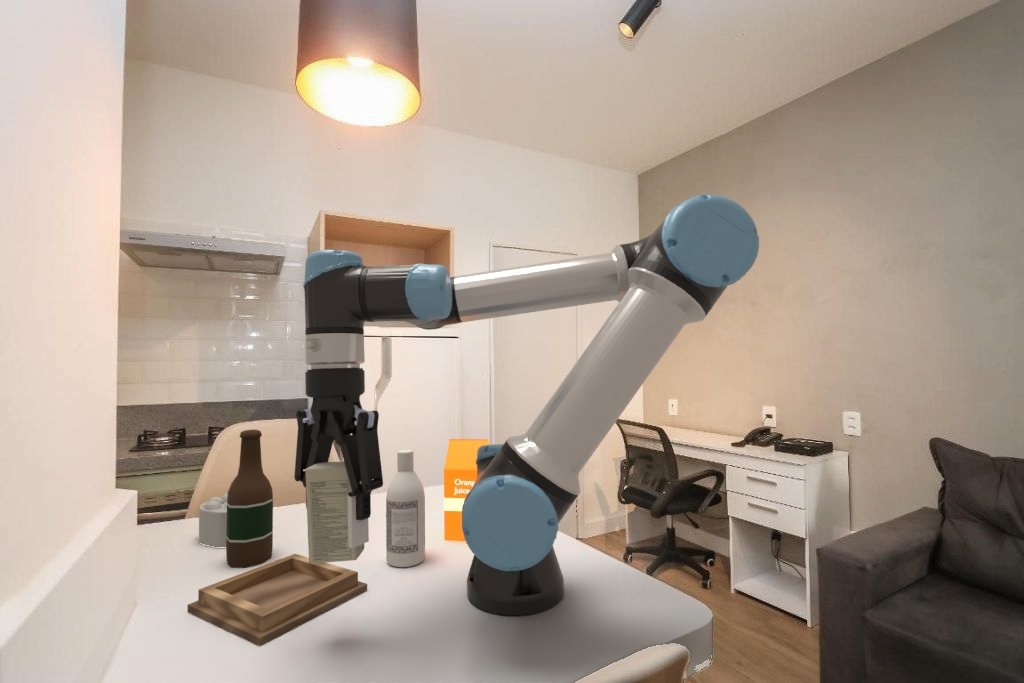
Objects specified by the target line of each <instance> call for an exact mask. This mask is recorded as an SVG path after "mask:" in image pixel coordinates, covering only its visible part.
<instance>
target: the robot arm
mask: <svg viewBox="0 0 1024 683" xmlns="http://www.w3.org/2000/svg"><path fill="white" fill-rule="evenodd" d="M759 249H760V236H759V235H758V230H757V226H756V224H755V221H754V219H753V218H752V216H751V215H750V213H749V212H748V211H747V210H746V209H745V208H744V207H743V206H741V204H739V203H738V202H736V201H734V200H733V199H731V198H728V197H726V196H724V195H718V194H711V193H710V194H701V195H695V196H693V197H690V198H688V199H685V200H684V201H683V202H681V203H680V204H677V205H676V206H675V207H673V208H672V209H670V211H669V213H668V214H667V216H666V217H665V218H664V220H663V221H662V222H660V224H659V225H658V227H657V228H656V229H655V230H654V231H653V232H652V233H651V234H649V235H648V236H645V237H643V238H642V239H638V240H636V241H632V242H629V243H622V244H617V245H615V246H614V248H613V249H612V250H611V251H610V252H606V253H599V254H594V255H586V256H581V257H573V258H568V259H567V258H566V259H562V260H561V259H560V260H555V261H553V260H552V261H547V262H541V263H540V262H539V263H533V264H528V265H520V266H514V267H508V268H501V269H494V270H486V271H481V272H480V271H479V272H476V273H475V272H474V273H468V274H467V273H466V274H462V275H455V276H450V272H449V270H448V268H447V267H446V266H445V265H442V264H430V263H429V264H426V263H422V262H421V263H419V262H418V263H416V264H403V265H402V264H400V265H399V264H398V265H382V266H381V265H380V266H367V265H364V263H363V260H364V259H363V257H362V256H361V255H360V254H359V253H357V252H353V251H349V250H344V249H343V250H341V249H340V250H336V249H321V250H316V251H314V252H311V253H310V254H308V255H307V257H306V258H305V268H304V283H303V285H302V286H303V290H304V315H305V316H304V317H305V318H304V319H305V320H304V321H305V330H304V331H305V334H304V335H305V364H306V365H307V366H310V369H307V370H306V371H305V395H306V397H308V398H312V404H311V406H310V408H309V409H308V408H307V409H298V410H297V411H296V414H295V415H296V423H297V435H296V450H295V461H294V462H295V463H294V475H293V476H294V481H295V482H297V483H298V482H301V483H302V486H303V487H304V488H305V489H306V471H305V469H307V468H308V467H310V466H312V465H314V464H316V463H324V462H329V461H330V460H329V459H330V455H331V452H332V447H333V443H334V442H335V444H336V445H338V446H339V448H340V451H341V455H342V459H343V461H344V463H345V466H346V470H347V474H348V478H349V481H350V485H351V489H352V492H350V493H348V495H347V498H348V547H349V548H354V547H356V546H359V545H361V544H364V545H365V544H366V543H368V542H369V539H370V538H369V537H370V536H369V519H370V518H371V513H372V511H371V510H372V508H371V504H372V503H371V501H372V500H371V498H372V497H371V495H372V494H371V493H372V492H373V491H374V490H377V489H379V488H383V485H384V480H383V471H382V460H381V451H380V443H379V433H378V424H379V417H380V414H379V411H377V410H366V409H363V406H362V403H361V400H360V397H361V396H362V395H363V394H365V389H366V386H365V384H366V380H365V373H366V372H365V370H364V369H363V367H361V364H364V363H365V362H366V361H365V360H366V359H365V335H364V334H365V329H364V326H365V322H366V323H368V322H369V323H375V322H406V323H408V324H412V325H415V326H416V327H417V328H420V329H423V330H428V331H430V330H431V331H432V330H437V329H442V328H443V327H445V326H451V325H457V324H461V323H462V324H463V323H467V322H473V321H481V320H488V319H495V318H502V317H508V316H516V315H522V314H530V313H536V312H542V311H543V312H544V311H550V310H558V309H564V308H570V307H571V308H572V307H577V306H584V305H591V304H599V303H605V302H611V301H617V302H618V303H617V305H616V307H615V308H614V309H613V311H612V312H611V313H610V315H609V316H608V317H607V319H606V320H605V321H604V324H602V326H601V328H600V329H599V330H598V332H597V333H596V335H595V336H594V337H593V338H592V341H590V343H589V344H588V346H587V347H586V348H585V350H584V351H583V352H582V354H581V355H580V357H579V358H578V360H576V363H575V364H574V366H572V368H571V370H570V371H569V372H568V374H567V375H566V376H565V378H564V379H563V381H562V382H561V383H560V385H558V388H557V389H556V390H555V392H554V393H553V394H552V396H551V397H550V398H549V399H548V401H547V403H546V404H545V405H544V407H543V408H542V410H541V411H540V412H539V414H538V416H537V417H536V418H535V420H534V421H533V423H532V424H531V425H530V427H529V428H528V430H527V431H525V433H522V435H520V434H519V435H515V436H509V437H508V438H507V439H506V440H505V442H504V443H503V444H501V443H498V444H497V443H496V444H489V445H482V446H480V447H479V448H478V450H477V459H476V461H475V462H476V465H477V479H476V481H475V483H474V485H473V487H472V489H471V490H470V491H469V493H468V494H467V496H466V498H465V500H464V504H463V507H462V531H463V535H464V538H465V541H464V542H465V543H466V545H467V546H468V548H469V550H470V551H471V552H472V553H473V556H472V557H473V558H472V561H471V563H470V564H471V565H470V568H469V571H468V574H467V578H466V596H467V599H468V600H469V602H470V603H471V604H472V605H473V606H474V607H476V608H478V609H480V610H482V611H485V612H488V613H491V614H495V615H505V616H525V615H532V614H537V613H541V612H543V611H544V612H545V611H546V610H549V609H551V608H553V607H554V606H556V605H557V604H559V603H560V601H562V599H563V597H564V596H565V595H564V594H565V592H564V590H565V589H564V588H565V586H564V585H565V584H564V576H563V572H562V569H561V566H560V563H559V560H558V556H557V555H556V551H555V548H554V543H555V540H556V539H557V535H558V532H559V524H560V523H561V521H562V520H563V518H564V517H565V515H566V514H567V512H568V511H569V510H570V508H571V506H572V505H573V504H574V502H575V501H576V500H577V498H578V497H579V495H580V494H581V487H580V486H581V485H580V479H579V477H580V473H581V472H582V470H583V468H584V467H585V466H586V464H587V463H588V461H589V460H590V459H591V457H592V456H593V455H594V453H595V451H596V450H597V449H598V447H599V446H600V444H601V443H602V442H603V441H604V440H605V438H606V436H607V435H608V434H609V432H610V431H611V429H612V428H613V427H614V425H615V424H616V422H617V421H618V420H619V418H620V417H621V415H622V414H623V412H624V411H625V410H626V408H627V406H628V405H629V404H630V402H631V401H632V400H633V398H635V395H636V394H637V392H638V391H640V390H639V389H640V388H641V387H642V385H643V384H644V383H645V382H646V380H647V379H648V377H649V376H650V374H651V373H652V372H653V370H654V369H655V367H656V366H657V365H658V363H659V361H661V359H662V357H664V355H665V353H666V352H667V351H668V349H669V348H670V346H671V345H672V344H673V342H674V341H675V340H676V338H677V337H678V336H679V334H680V333H681V331H682V330H683V328H684V326H685V325H687V324H693V323H698V322H699V323H700V322H702V321H704V320H705V318H706V317H707V316H708V314H709V312H710V311H711V310H713V309H712V308H714V305H715V304H716V303H717V301H718V300H719V298H720V297H721V296H722V295H723V293H724V292H725V290H726V289H727V288H728V287H729V286H731V285H733V284H735V283H737V282H738V281H740V280H741V279H742V278H744V277H745V276H746V275H747V273H749V271H750V270H751V269H752V268H753V265H755V263H756V260H757V258H758V256H759V255H758V254H759ZM360 481H361V482H362V483H361V484H360ZM305 508H306V509H307V496H306V495H305Z"/></svg>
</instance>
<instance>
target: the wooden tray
mask: <svg viewBox="0 0 1024 683" xmlns="http://www.w3.org/2000/svg"><path fill="white" fill-rule="evenodd" d="M366 590H367V591H368V583H366V582H362V581H360V580H359V571H357V570H356V571H355V570H352V569H349V568H345V567H341V566H339V565H335V564H332V563H330V562H324V563H309V556H305V555H301V554H297V553H293V554H289V555H287V556H285V557H282V558H280V559H277V560H273V561H271V562H269V563H266V564H263V565H260V566H258V567H255V568H252V569H249V570H247V571H244V572H242V573H239V574H236V575H234V576H231V577H228V578H226V579H223V580H221V581H218V582H215V583H213V584H210V585H206V586H205V587H202V588H201V587H200V588H199V589H198V594H197V595H198V598H197V599H198V600H196V601H193V602H191V603H188V604H187V612H188V613H189V614H191V613H192V615H193V616H195V617H198V618H200V619H202V620H205V621H206V620H207V622H208V621H209V622H208V623H210V622H211V623H210V624H212V625H215V626H217V627H219V628H221V629H223V630H226V631H228V632H230V633H232V634H234V635H236V636H239V637H240V638H242V639H245V640H246V641H249V642H250V643H252V644H255V645H257V646H259V647H260V646H262V645H264V644H266V643H269V641H272V640H274V639H275V638H278V637H280V636H281V635H284V634H285V633H287V632H290V631H292V630H293V629H295V628H297V627H299V626H301V625H303V624H305V623H306V622H307V623H308V622H309V621H310V620H313V619H314V618H316V617H319V616H320V615H323V614H324V613H326V612H328V611H330V610H332V609H334V608H335V607H338V606H339V604H340V605H342V604H343V603H345V602H347V601H349V600H352V599H353V598H355V597H357V596H359V595H361V594H363V593H365V592H366ZM364 591H365V592H364ZM360 593H361V594H360ZM341 603H342V604H341Z"/></svg>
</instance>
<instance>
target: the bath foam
mask: <svg viewBox="0 0 1024 683" xmlns="http://www.w3.org/2000/svg"><path fill="white" fill-rule="evenodd" d="M396 452H397V458H396V460H397V461H396V462H397V464H396V466H397V471H396V473H395V474H394V476H393V477H392V479H391V481H390V483H389V485H388V487H387V491H386V498H385V501H386V503H385V510H386V511H385V513H386V516H385V521H386V522H385V525H386V526H385V527H386V528H385V532H386V533H385V537H386V541H385V546H386V550H385V551H386V554H385V555H386V556H385V557H386V558H385V559H386V562H387V564H388V565H390V566H391V567H396V568H409V567H413V566H416V565H419V564H421V563H423V561H424V560H425V556H426V510H425V509H426V508H425V507H426V500H425V499H426V495H425V490H424V489H425V488H424V486H423V483H422V481H421V479H420V478H419V476H418V474H417V473H416V471H415V470H414V462H415V461H414V450H413V449H400V450H398V451H396Z"/></svg>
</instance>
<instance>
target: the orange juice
mask: <svg viewBox="0 0 1024 683" xmlns="http://www.w3.org/2000/svg"><path fill="white" fill-rule="evenodd" d="M447 445H448V446H447V451H446V457H445V463H444V468H443V514H444V515H443V516H444V517H443V519H444V520H443V521H444V524H443V528H444V534H443V535H444V541H450V542H451V541H453V542H454V541H456V542H457V541H458V542H466V541H465V538H464V535H463V531H462V507H463V504H464V500H465V498H466V496H467V494H468V493H469V491H470V490H471V489H472V487H473V485H474V483H475V481H476V479H477V465H476V462H475V461H476V459H477V450H478V448H479V447H480V446H482V445H490V442H489V439H487V438H486V439H485V438H484V439H483V438H482V439H479V438H478V439H475V438H473V439H471V438H470V439H469V438H465V439H464V438H449V439H448V444H447Z"/></svg>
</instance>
